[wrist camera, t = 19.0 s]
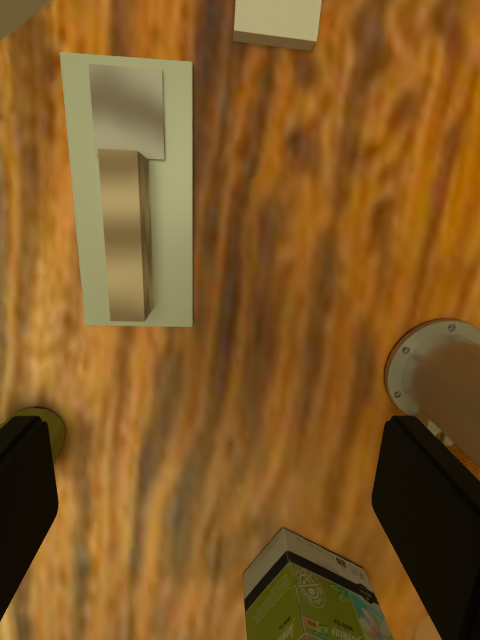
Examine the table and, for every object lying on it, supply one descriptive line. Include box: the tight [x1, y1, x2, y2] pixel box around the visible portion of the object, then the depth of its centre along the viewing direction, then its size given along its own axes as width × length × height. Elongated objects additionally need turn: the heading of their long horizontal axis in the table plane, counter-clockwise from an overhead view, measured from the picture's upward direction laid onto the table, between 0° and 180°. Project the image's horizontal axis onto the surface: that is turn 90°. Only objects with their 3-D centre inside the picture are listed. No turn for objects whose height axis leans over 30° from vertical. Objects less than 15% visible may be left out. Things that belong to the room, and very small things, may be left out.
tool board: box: [60, 52, 193, 327], centre depth 34 cm, size 24×11×1 cm, turn 178°
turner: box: [89, 64, 165, 322], centre depth 31 cm, size 21×6×5 cm, turn 178°
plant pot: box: [0, 407, 65, 465], centre depth 36 cm, size 9×9×9 cm
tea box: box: [243, 528, 394, 640], centre depth 42 cm, size 15×10×15 cm, turn 56°
